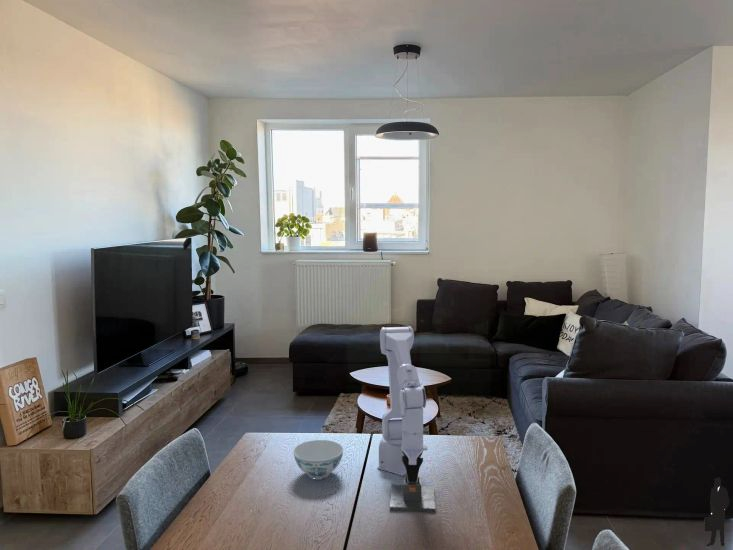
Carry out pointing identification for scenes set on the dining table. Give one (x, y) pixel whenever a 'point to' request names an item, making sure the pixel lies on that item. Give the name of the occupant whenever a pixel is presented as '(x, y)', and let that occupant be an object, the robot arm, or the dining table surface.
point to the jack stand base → (412, 497)
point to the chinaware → (318, 457)
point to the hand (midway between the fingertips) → (412, 478)
